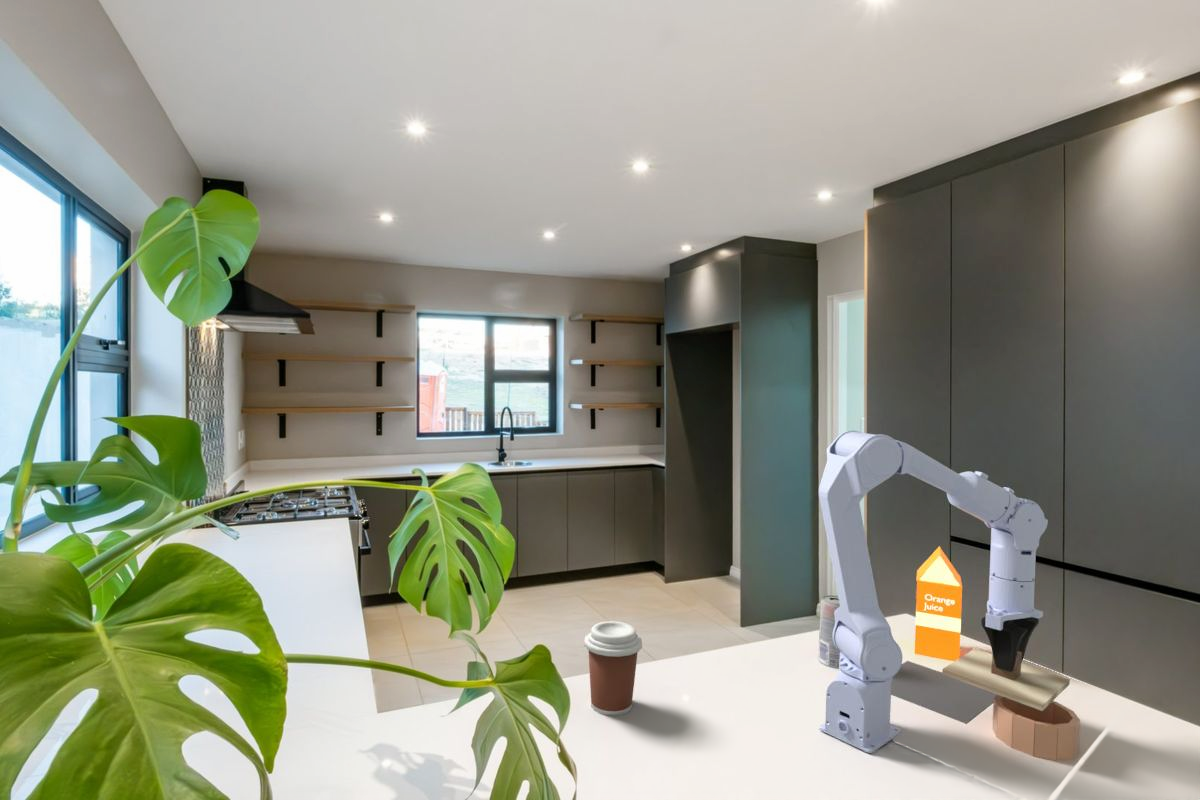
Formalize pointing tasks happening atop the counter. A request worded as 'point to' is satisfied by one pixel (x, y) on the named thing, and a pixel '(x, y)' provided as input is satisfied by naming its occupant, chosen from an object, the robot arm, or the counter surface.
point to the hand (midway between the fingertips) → (1008, 666)
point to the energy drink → (828, 632)
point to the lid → (1008, 679)
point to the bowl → (1037, 729)
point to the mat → (940, 692)
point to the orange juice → (938, 608)
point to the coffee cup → (612, 666)
